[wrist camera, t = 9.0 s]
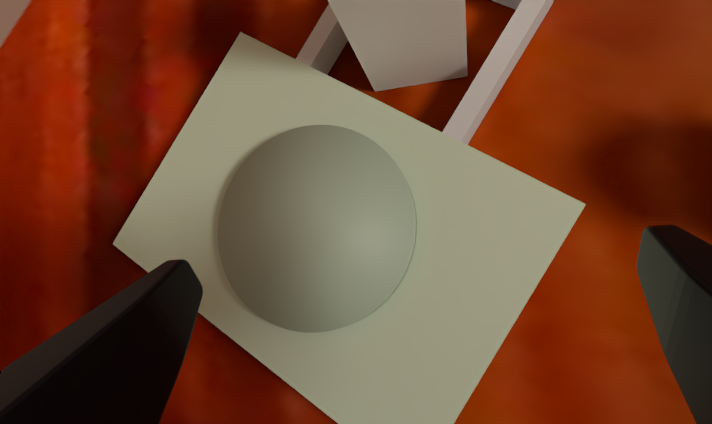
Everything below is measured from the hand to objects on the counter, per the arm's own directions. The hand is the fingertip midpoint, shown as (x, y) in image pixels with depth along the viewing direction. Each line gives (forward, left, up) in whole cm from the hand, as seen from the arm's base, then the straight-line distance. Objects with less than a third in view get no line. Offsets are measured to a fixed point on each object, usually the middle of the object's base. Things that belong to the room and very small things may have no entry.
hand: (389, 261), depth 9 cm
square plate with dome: (+3, +6, -14) cm, 15 cm away
